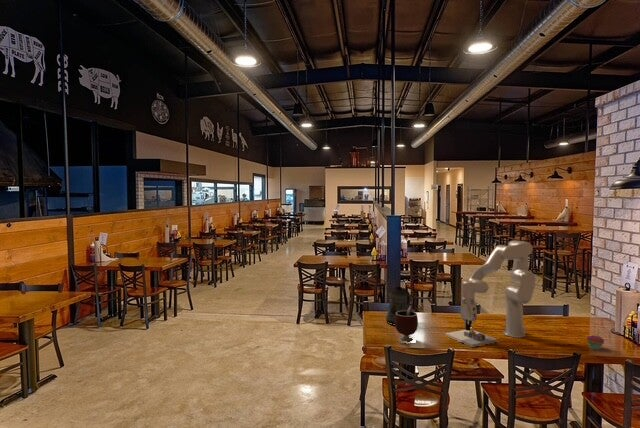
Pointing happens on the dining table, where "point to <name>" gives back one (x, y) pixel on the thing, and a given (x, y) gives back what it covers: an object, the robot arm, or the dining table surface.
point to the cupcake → (595, 341)
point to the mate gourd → (406, 323)
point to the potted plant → (397, 303)
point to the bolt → (473, 332)
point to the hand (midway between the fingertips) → (468, 330)
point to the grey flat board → (471, 338)
